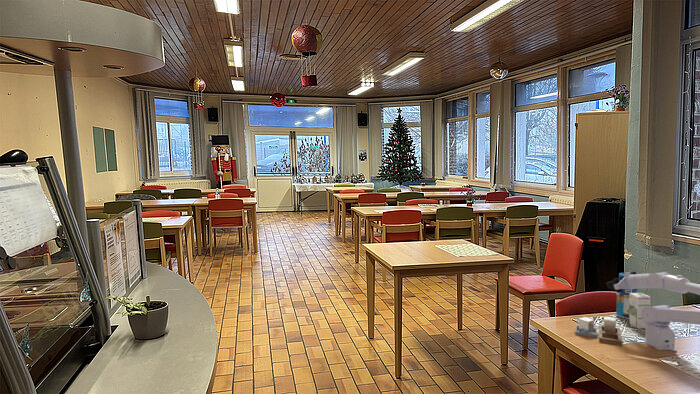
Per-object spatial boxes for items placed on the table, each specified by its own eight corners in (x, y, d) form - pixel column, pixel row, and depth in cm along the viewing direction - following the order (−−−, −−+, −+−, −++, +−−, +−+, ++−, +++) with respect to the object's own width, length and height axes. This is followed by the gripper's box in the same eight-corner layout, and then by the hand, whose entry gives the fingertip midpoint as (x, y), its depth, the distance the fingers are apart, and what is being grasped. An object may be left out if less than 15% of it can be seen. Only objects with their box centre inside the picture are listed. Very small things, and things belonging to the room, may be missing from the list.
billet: (603, 330, 180) (604, 316, 180) (615, 332, 178) (615, 318, 178) (604, 333, 177) (604, 319, 176) (615, 335, 175) (615, 321, 174)
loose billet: (584, 331, 181) (584, 317, 180) (593, 334, 177) (594, 319, 177) (578, 333, 179) (578, 318, 178) (588, 336, 175) (588, 321, 175)
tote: (575, 330, 183) (576, 325, 183) (596, 333, 180) (597, 328, 179) (575, 336, 177) (575, 331, 177) (597, 339, 173) (597, 334, 173)
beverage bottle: (619, 312, 206) (620, 271, 205) (639, 317, 199) (641, 274, 198) (612, 316, 200) (613, 274, 199) (633, 321, 194) (634, 277, 193)
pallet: (598, 330, 183) (598, 325, 183) (619, 333, 179) (619, 328, 179) (599, 343, 169) (599, 338, 169) (621, 347, 165) (621, 341, 165)
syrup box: (650, 329, 183) (651, 296, 182) (636, 329, 183) (637, 296, 182) (641, 325, 189) (642, 292, 188) (628, 325, 189) (628, 292, 188)
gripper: (650, 266, 175) (623, 268, 188) (622, 277, 172) (597, 278, 184) (657, 283, 174) (629, 284, 187) (629, 294, 170) (603, 294, 183)
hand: (614, 282), depth 186 cm, fingers open, 7 cm apart
